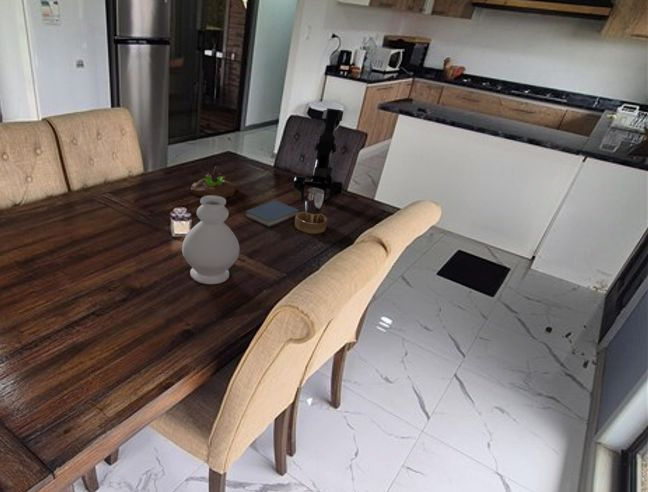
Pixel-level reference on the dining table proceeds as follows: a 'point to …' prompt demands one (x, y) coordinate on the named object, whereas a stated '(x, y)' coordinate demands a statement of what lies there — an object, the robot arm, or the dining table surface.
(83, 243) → the dining table surface
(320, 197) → the beer glass
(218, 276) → the decorative vase
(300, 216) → the wooden bowl
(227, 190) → the plant
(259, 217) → the book
